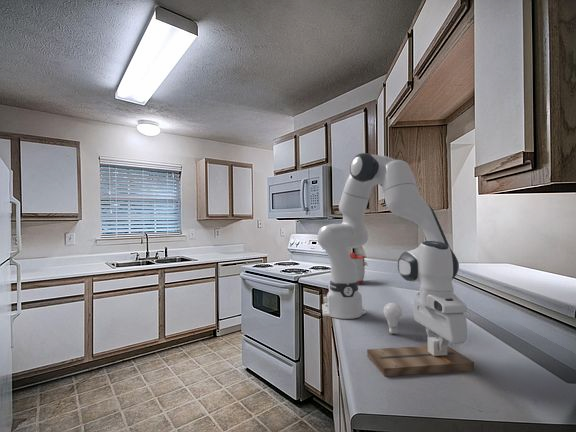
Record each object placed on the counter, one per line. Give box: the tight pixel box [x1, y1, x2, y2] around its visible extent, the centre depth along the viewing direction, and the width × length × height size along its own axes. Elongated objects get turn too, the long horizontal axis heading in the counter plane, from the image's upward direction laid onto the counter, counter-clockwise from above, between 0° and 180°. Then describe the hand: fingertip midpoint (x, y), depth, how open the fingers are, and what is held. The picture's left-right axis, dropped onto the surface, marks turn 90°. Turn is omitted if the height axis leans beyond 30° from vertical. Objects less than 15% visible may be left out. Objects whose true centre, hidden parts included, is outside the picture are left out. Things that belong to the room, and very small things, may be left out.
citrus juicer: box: [349, 252, 369, 285], centre depth 199 cm, size 16×17×20 cm
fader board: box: [366, 345, 475, 377], centre depth 87 cm, size 25×12×2 cm, turn 96°
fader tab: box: [427, 336, 447, 356], centre depth 87 cm, size 4×3×4 cm
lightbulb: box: [382, 301, 403, 335], centre depth 109 cm, size 6×6×11 cm
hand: (437, 347), depth 87 cm, fingers closed on fader tab, 3 cm apart
